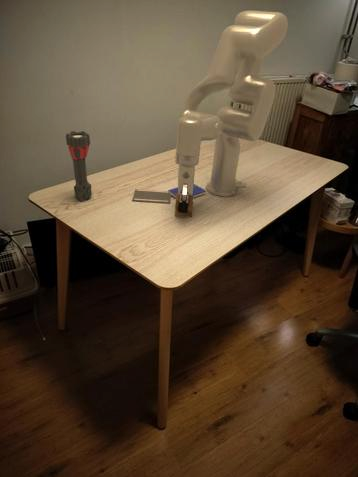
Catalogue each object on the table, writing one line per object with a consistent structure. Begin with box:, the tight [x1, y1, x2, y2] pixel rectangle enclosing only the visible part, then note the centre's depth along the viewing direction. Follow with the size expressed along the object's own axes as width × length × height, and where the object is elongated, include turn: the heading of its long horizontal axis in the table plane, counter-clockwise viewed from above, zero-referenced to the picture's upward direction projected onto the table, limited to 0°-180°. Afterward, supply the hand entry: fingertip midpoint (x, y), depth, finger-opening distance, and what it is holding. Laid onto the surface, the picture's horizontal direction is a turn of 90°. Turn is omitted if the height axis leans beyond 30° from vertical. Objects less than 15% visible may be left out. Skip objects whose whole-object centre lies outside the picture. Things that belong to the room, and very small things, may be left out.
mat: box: [131, 188, 172, 205], centre depth 124 cm, size 14×9×1 cm, turn 89°
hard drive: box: [167, 183, 207, 199], centre depth 127 cm, size 2×8×12 cm
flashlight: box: [65, 130, 92, 202], centre depth 115 cm, size 8×8×23 cm
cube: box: [174, 193, 194, 218], centre depth 114 cm, size 6×6×6 cm
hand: (182, 205), depth 114 cm, fingers open, 9 cm apart
